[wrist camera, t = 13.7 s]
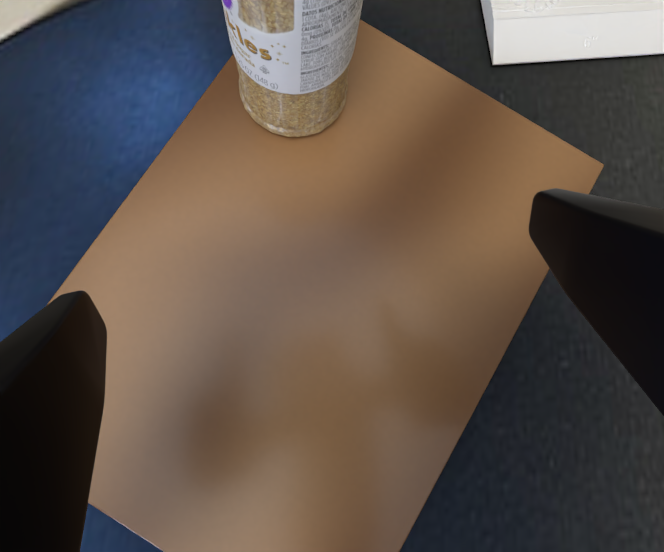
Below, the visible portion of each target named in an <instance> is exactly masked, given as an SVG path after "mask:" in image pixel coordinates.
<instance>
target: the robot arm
mask: <svg viewBox="0 0 664 552" xmlns="http://www.w3.org/2000/svg"><path fill="white" fill-rule="evenodd" d="M529 235H530V238H531V240H532V241H533V243H534V244H535V246H536V248H537V249H538V251H539V252H540V254H541V255H542V257H543V259H544V260H545V262H546V263H547V265H548V267H549V268H550V270H551V271H552V273H553V275H554V276H555V278H556V279H557V281H558V283H559V284H560V286H561V287H562V288H563V290H564V291H565V293H566V294H567V295H568V297H569V298H570V299H571V301H572V302H573V303H574V305H575V306H576V307H577V308H578V310H579V311H580V312H581V313H582V315H583V316H584V317H585V318H586V320H587V321H588V322H589V323H590V325H591V326H592V327H593V328H594V330H595V331H596V332H597V333H598V335H599V336H600V337H601V338H602V340H603V341H604V342H605V343H606V345H607V346H608V347H609V348H610V349H611V351H612V352H613V353H614V354H615V356H616V357H617V358H618V359H619V361H620V362H621V363H622V364H623V366H624V367H625V368H626V369H627V371H628V372H629V373H630V374H631V376H632V377H633V378H634V379H635V381H636V382H637V383H638V384H639V386H640V387H641V388H642V389H643V391H644V392H645V393H646V394H647V396H648V397H649V398H650V399H651V401H652V402H653V403H654V404H655V406H656V407H657V408H658V409H659V411H660V412H661V413H662V414H663V416H664V209H659V208H654V207H649V206H644V205H639V204H634V203H629V202H624V201H619V200H614V199H609V198H604V197H599V196H594V195H589V194H584V193H579V192H574V191H569V190H564V189H559V188H553V189H548V190H543V191H539V192H537V193H536V194H535V196H534V198H533V201H532V208H531V214H530V221H529ZM106 353H107V329H106V325H105V323H104V321H103V319H102V317H101V315H100V314H99V312H98V310H97V308H96V306H95V304H94V303H93V301H92V299H91V297H90V296H89V294H88V293H87V292H85V291H83V290H80V291H75V292H70V293H65V294H62V295H60V296H58V297H57V298H56V299H54V300H53V301H52V302H51V303H49V304H48V305H47V306H46V307H44V308H43V309H42V310H41V311H39V312H38V313H37V314H36V315H34V316H33V317H32V318H30V319H29V320H28V321H27V322H25V323H24V324H23V325H22V326H20V327H19V328H18V329H17V330H15V331H14V332H13V333H12V334H10V335H9V336H8V337H6V338H5V339H4V340H3V341H1V342H0V552H80V547H81V541H82V535H83V529H84V523H85V517H86V511H87V505H88V499H89V493H90V487H91V481H92V475H93V469H94V463H95V457H96V451H97V446H98V440H99V434H100V428H101V422H102V416H103V409H104V400H105V381H106Z"/></svg>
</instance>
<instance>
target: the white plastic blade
mask: <svg viewBox="0 0 664 552" xmlns="http://www.w3.org/2000/svg"><path fill="white" fill-rule="evenodd" d="M481 5H482V10H483V16H484V21H485V27H486V32H487V38H488V43H489V49H490V54H491V60H492V65H506V64H521V63H536V62H551V61H565V60H580V59H595V58H610V57H625V56H639V55H654V54H664V0H481Z"/></svg>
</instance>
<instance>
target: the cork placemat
mask: <svg viewBox="0 0 664 552" xmlns="http://www.w3.org/2000/svg"><path fill="white" fill-rule="evenodd" d="M347 81H348V92H347V97H346V103H345V106H344V108H343V110H342V111H341V113H340V115H339V116H338V118H337V119H336V120H335V121H334V122H333V123H332V124H330V125H329V126H327V127H326V128H325V129H324V130H322V131H321V132H319V133H316V134H311V135H308V136H300V137H287V136H283V135H280V134H275V133H272V132H270V131H269V130H267V129H265V128H264V127H262V126H261V125H260V124H258V123H257V122H256V121H254V120H253V118H252V117H251V116H250V114H249V113H248V112H247V111H246V109H245V107H244V104H243V102H242V99H241V97H240V93H239V72H238V68H237V64H236V59H235V56H234V53H233V55H232V56H231V58H230V59H229V60H228V62H227V63H226V64H225V66H224V67H223V68H222V70H221V71H220V72H219V74H218V75H217V76H216V78H215V79H214V80H213V82H212V83H211V84H210V86H209V87H208V89H207V90H206V91H205V93H204V94H203V95H202V97H201V98H200V99H199V101H198V102H197V103H196V105H195V106H194V107H193V109H192V110H191V111H190V113H189V114H188V115H187V117H186V118H185V120H184V121H183V122H182V124H181V125H180V126H179V128H178V129H177V130H176V132H175V133H174V134H173V136H172V137H171V138H170V140H169V141H168V142H167V144H166V145H165V146H164V148H163V149H162V151H161V152H160V153H159V155H158V156H157V157H156V159H155V160H154V161H153V163H152V164H151V165H150V167H149V168H148V169H147V171H146V172H145V173H144V175H143V176H142V177H141V179H140V180H139V182H138V183H137V184H136V186H135V187H134V188H133V190H132V191H131V192H130V194H129V195H128V196H127V198H126V199H125V200H124V202H123V203H122V204H121V206H120V207H119V208H118V210H117V211H116V213H115V214H114V215H113V217H112V218H111V219H110V221H109V222H108V223H107V225H106V226H105V227H104V229H103V230H102V231H101V233H100V234H99V235H98V237H97V238H96V239H95V241H94V242H93V244H92V245H91V246H90V248H89V249H88V250H87V252H86V253H85V254H84V256H83V257H82V258H81V260H80V261H79V262H78V264H77V265H76V266H75V268H74V269H73V271H72V272H71V273H70V275H69V276H68V277H67V279H66V280H65V281H64V283H63V284H62V285H61V287H60V288H59V289H58V291H57V292H56V293H55V295H54V296H53V297H52V299H51V300H50V302H49V303H51V302H52V301H53V300H54V299H56V298H57V297H58V296H60V295H62V294H65V293H70V292H75V291H80V290H83V291H85V292H87V293H88V294H89V296H90V297H91V299H92V301H93V303H94V304H95V306H96V308H97V310H98V312H99V314H100V315H101V317H102V319H103V321H104V323H105V325H106V329H107V353H106V381H105V400H104V409H103V416H102V422H101V428H100V434H99V440H98V446H97V451H96V457H95V463H94V469H93V475H92V481H91V487H90V493H89V499H88V503H90V504H91V505H93V506H94V507H96V508H97V509H99V510H100V511H102V512H103V513H105V514H107V515H108V516H110V517H111V518H113V519H114V520H116V521H117V522H119V523H120V524H122V525H124V526H125V527H127V528H128V529H130V530H131V531H133V532H134V533H136V534H137V535H139V536H141V537H142V538H144V539H145V540H147V541H148V542H150V543H151V544H153V545H154V546H156V547H158V548H159V549H161V550H162V551H164V552H400V550H401V548H402V546H403V544H404V542H405V540H406V538H407V536H408V535H409V533H410V531H411V529H412V527H413V525H414V523H415V521H416V519H417V518H418V516H419V514H420V512H421V510H422V508H423V506H424V504H425V502H426V501H427V499H428V497H429V495H430V493H431V491H432V489H433V487H434V485H435V484H436V482H437V480H438V478H439V476H440V474H441V472H442V470H443V468H444V467H445V465H446V463H447V461H448V459H449V457H450V455H451V453H452V452H453V450H454V448H455V446H456V444H457V442H458V440H459V438H460V436H461V435H462V433H463V431H464V429H465V427H466V425H467V423H468V421H469V419H470V418H471V416H472V414H473V412H474V410H475V408H476V406H477V404H478V402H479V401H480V399H481V397H482V395H483V393H484V391H485V389H486V387H487V385H488V384H489V382H490V380H491V378H492V376H493V374H494V372H495V370H496V368H497V367H498V365H499V363H500V361H501V359H502V357H503V355H504V353H505V352H506V350H507V348H508V346H509V344H510V342H511V340H512V338H513V336H514V335H515V333H516V331H517V329H518V327H519V325H520V323H521V321H522V319H523V318H524V316H525V314H526V312H527V310H528V308H529V306H530V304H531V302H532V301H533V299H534V297H535V295H536V293H537V291H538V289H539V287H540V285H541V284H542V282H543V280H544V278H545V276H546V274H547V272H548V270H549V267H548V265H547V263H546V262H545V260H544V259H543V257H542V255H541V254H540V252H539V251H538V249H537V248H536V246H535V244H534V243H533V241H532V240H531V238H530V235H529V221H530V214H531V208H532V201H533V198H534V196H535V194H536V193H537V192H539V191H543V190H548V189H553V188H559V189H564V190H569V191H574V192H579V193H584V194H589V193H590V191H591V189H592V187H593V185H594V184H595V182H596V180H597V178H598V176H599V174H600V172H601V170H602V168H603V167H604V165H603V164H602V163H600V162H598V161H597V160H595V159H593V158H592V157H590V156H588V155H587V154H585V153H583V152H582V151H580V150H578V149H577V148H575V147H573V146H572V145H570V144H568V143H567V142H565V141H563V140H561V139H560V138H558V137H556V136H555V135H553V134H551V133H550V132H548V131H546V130H545V129H543V128H541V127H540V126H538V125H536V124H535V123H533V122H531V121H530V120H528V119H526V118H525V117H523V116H521V115H520V114H518V113H516V112H515V111H513V110H511V109H510V108H508V107H506V106H504V105H503V104H501V103H499V102H498V101H496V100H494V99H493V98H491V97H489V96H488V95H486V94H484V93H483V92H481V91H479V90H478V89H476V88H474V87H473V86H471V85H469V84H468V83H466V82H464V81H463V80H461V79H459V78H458V77H456V76H454V75H453V74H451V73H449V72H447V71H446V70H444V69H442V68H441V67H439V66H437V65H436V64H434V63H432V62H431V61H429V60H427V59H426V58H424V57H422V56H421V55H419V54H417V53H416V52H414V51H412V50H411V49H409V48H407V47H406V46H404V45H402V44H401V43H399V42H397V41H396V40H394V39H392V38H390V37H389V36H387V35H385V34H384V33H382V32H380V31H379V30H377V29H375V28H374V27H372V26H370V25H369V24H367V23H365V22H364V21H362V20H359V26H358V32H357V37H356V43H355V48H354V52H353V55H352V58H351V60H350V65H349V70H348V76H347ZM49 303H48V304H49ZM48 304H47V305H48Z"/></svg>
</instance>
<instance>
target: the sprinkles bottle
mask: <svg viewBox="0 0 664 552" xmlns="http://www.w3.org/2000/svg"><path fill="white" fill-rule="evenodd" d="M362 3H363V0H222V4H223V9H224V14H225V19H226V24H227V29H228V34H229V39H230V43H231V47H232V51H233V53H234V56H235V59H236V64H237V68H238V72H239V93H240V97H241V99H242V102H243V104H244V107H245V109H246V111H247V112H248V113H249V114H250V116H251V117H252V118H253V120H254V121H256V122H257V123H258V124H260V125H261V126H262V127H264V128H265V129H267V130H269V131H270V132H272V133H275V134H280V135H283V136H287V137H300V136H308V135H311V134H316V133H319V132H321V131H322V130H324V129H325V128H326V127H327V126H329V125H330V124H332V123H333V122H334V121H335V120H336V119H337V118H338V116H339V115H340V113H341V111H342V110H343V108H344V106H345V103H346V97H347V92H348V81H347V76H348V70H349V65H350V60H351V58H352V55H353V52H354V48H355V43H356V37H357V32H358V26H359V20H360V15H361V9H362Z"/></svg>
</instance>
